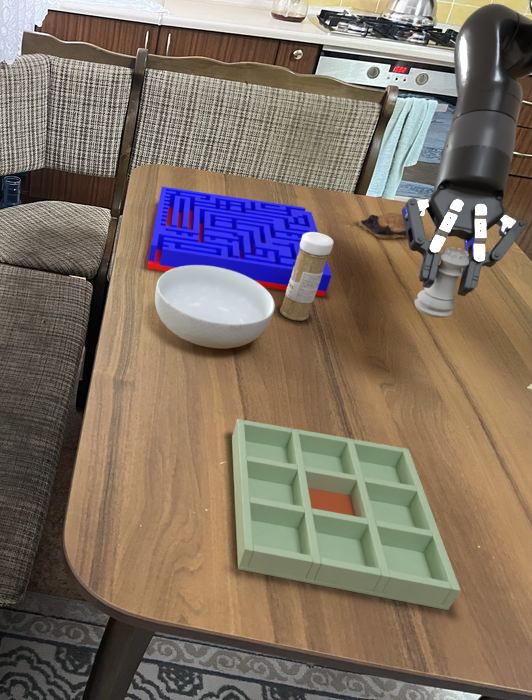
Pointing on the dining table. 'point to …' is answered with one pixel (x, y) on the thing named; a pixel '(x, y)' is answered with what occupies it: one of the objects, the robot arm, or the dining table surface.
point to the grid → (337, 515)
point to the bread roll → (385, 225)
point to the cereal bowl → (213, 306)
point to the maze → (231, 236)
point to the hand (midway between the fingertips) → (446, 289)
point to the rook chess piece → (443, 285)
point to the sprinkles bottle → (306, 275)
